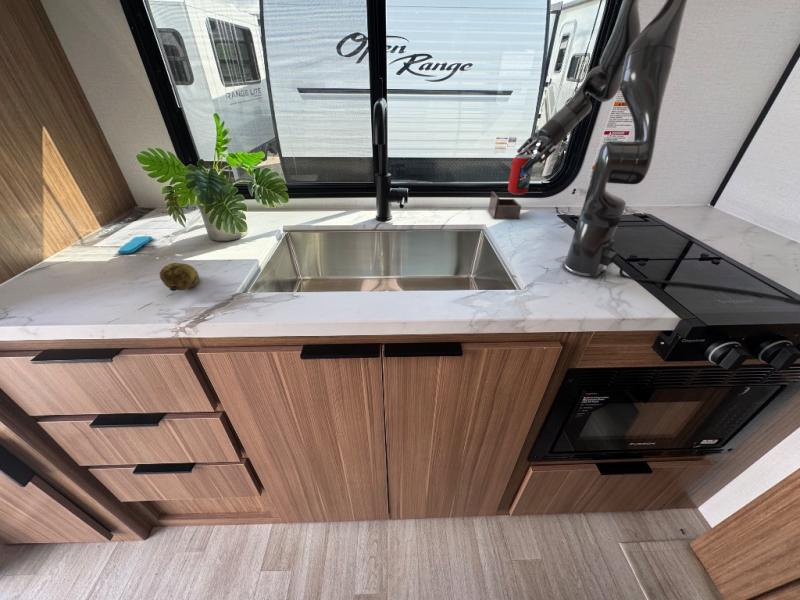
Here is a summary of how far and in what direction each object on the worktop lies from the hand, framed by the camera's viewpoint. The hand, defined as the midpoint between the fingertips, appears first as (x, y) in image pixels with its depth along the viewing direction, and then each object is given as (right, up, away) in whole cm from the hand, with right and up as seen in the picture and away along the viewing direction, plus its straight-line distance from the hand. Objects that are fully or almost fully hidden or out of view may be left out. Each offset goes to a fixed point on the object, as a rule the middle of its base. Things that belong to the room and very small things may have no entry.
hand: (517, 167), depth 108 cm
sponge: (-127, -27, -3) cm, 130 cm away
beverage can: (+2, -7, +5) cm, 9 cm away
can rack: (+2, -10, +23) cm, 25 cm away
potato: (-96, -42, -24) cm, 107 cm away
